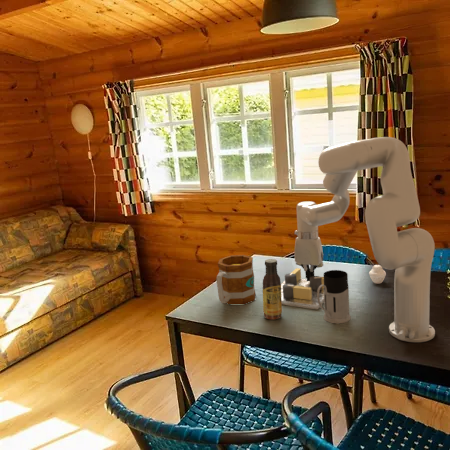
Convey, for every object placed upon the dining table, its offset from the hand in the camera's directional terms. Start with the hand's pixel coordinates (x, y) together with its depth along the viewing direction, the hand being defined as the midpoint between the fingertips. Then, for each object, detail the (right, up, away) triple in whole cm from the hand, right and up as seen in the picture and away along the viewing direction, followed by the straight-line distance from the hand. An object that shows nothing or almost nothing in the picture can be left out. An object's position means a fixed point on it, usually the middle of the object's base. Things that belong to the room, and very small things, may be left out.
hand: (310, 280), depth 175 cm
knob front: (-7, -5, -12) cm, 15 cm away
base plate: (-4, -4, -6) cm, 8 cm away
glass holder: (+2, -10, -28) cm, 30 cm away
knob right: (+4, -2, -6) cm, 8 cm away
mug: (-29, -7, -6) cm, 31 cm away
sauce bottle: (-17, -10, -22) cm, 29 cm away
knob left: (-6, -1, +2) cm, 6 cm away
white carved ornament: (+26, -1, -1) cm, 26 cm away
